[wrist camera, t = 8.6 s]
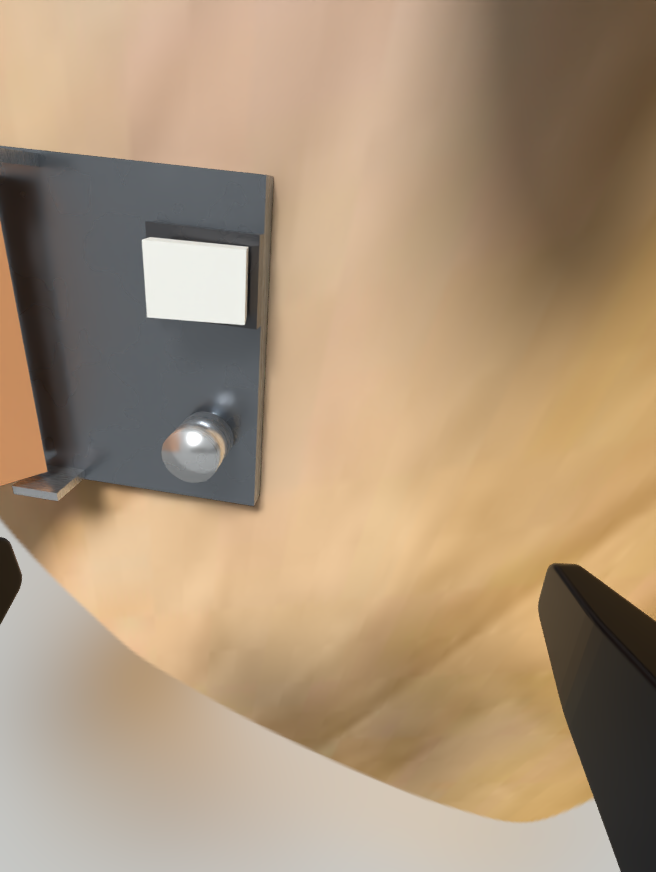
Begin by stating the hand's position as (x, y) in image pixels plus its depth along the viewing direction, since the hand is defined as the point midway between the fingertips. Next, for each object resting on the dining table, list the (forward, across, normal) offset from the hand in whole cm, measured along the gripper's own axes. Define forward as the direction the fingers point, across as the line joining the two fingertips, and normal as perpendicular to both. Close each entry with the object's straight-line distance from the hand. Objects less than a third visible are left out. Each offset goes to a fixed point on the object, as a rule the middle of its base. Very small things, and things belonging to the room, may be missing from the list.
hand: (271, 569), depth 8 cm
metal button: (+12, +5, +3) cm, 13 cm away
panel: (+13, +8, 0) cm, 15 cm away
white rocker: (+11, +4, -3) cm, 12 cm away
